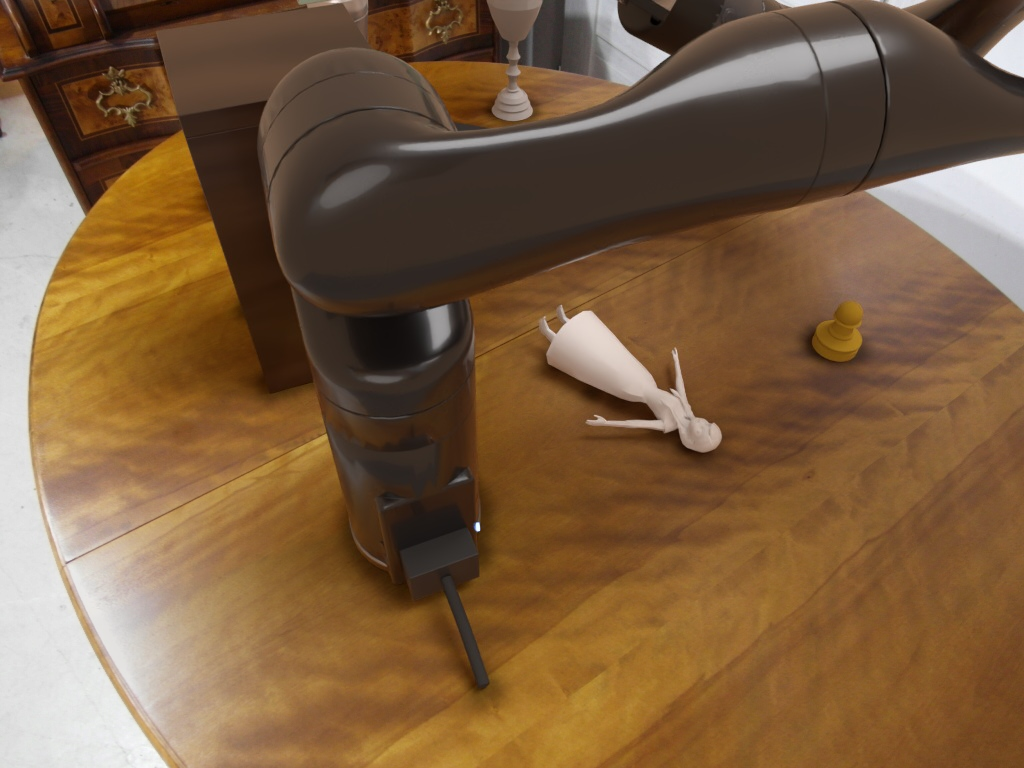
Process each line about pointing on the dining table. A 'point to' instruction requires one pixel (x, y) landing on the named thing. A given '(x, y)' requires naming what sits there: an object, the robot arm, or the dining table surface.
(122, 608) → the dining table surface
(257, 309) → the tall wooden pillar
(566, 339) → the woman figurine
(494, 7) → the chalice
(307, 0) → the storage box
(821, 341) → the chess piece
